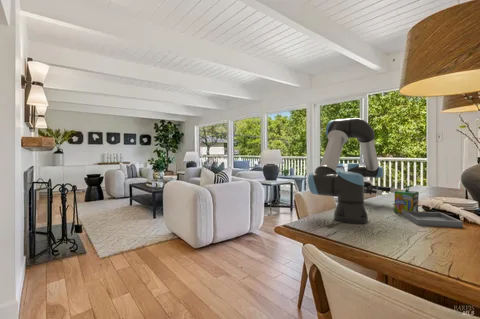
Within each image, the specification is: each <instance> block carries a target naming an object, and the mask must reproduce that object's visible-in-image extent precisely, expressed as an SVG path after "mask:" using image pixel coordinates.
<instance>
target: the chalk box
mask: <svg viewBox="0 0 480 319" xmlns="http://www.w3.org/2000/svg"><path fill="white" fill-rule="evenodd" d="M410 187H411V185H406V188H405V189H401V190H398V191H396V192H395V193H394V210H393V211H394V213H398V214H403V211H417V212H419V193H420V192H419V191H414V190H410Z"/></svg>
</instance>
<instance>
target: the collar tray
mask: <svg viewBox="0 0 480 319" xmlns="http://www.w3.org/2000/svg"><path fill="white" fill-rule="evenodd" d="M402 217H405V218H406V219H408V220H409V221H411V222H412V223H414V224H416V225H417V226H424V227H425V226H426V227H427V226H428V227H429V226H430V227H445V228H446V227H448V228H464V227H463V225H464V224H463V223H464V221H462V220H460V219H458V218H454V217H453V216H450V215H448V214H446V213H443V212H435V211H418V212H417V211H403V213H402Z"/></svg>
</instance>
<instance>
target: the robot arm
mask: <svg viewBox="0 0 480 319" xmlns="http://www.w3.org/2000/svg"><path fill="white" fill-rule="evenodd" d="M325 135H326V138H327V139H328V142H327V145H326V147H325V150H324V154H323V156H322V159H321V162H320V165H319V166H317V167H316V168H315V171H314V172H310V173H309V174H308V177H307V184H308V185H307V186H308V189H309V192H310V193H311V194H312V195H317V196H324V197H325V196H326V197H327V196H328V197H335V198H336V197H337V204H336V207H335V209H334V213H333V219H334V220H336V221H338V222H341V223H347V224H364V223H365V224H366V223H368V221H369V216H368V213H367V211H366V207H365V202H364V201H365V198H364V197H365V194H367V195H368V194H369V195H372V194H373V195H378V196H383V192H389V193H393V194H395V192H396V191H398V190H402V189H401V188H395V187H394V186H381V185H374V184H372V183H371V182H369V181H365V180H364V179H365V178H373V179H377V178H379V179H382V178H383V177H384V173H385V171H384V167H383V166H380V165H379V161H378V155H377V150H376V145H375V140H374V139H376V138H375V137H376V134H375V131H374V129H373V127H372V126H371V124H370V123H368V122H367V121H365V120H364V119H363V118H359V117H354V118H339V119H337V118H336V119H332V120H329V121H328V123H327V124H326V127H325ZM355 138H356V140H357V141H358V142H359V144H360V148H361V152H362V157H363V160H364V165H360V163H358V162H350V163H347V169H346V170H347V171H345V170H339V171H337V168H338V165H339V161H340V158H341V154H342V151H343V149H344V148H343V147H344V145H345V144H346V143H347V142H348V140H349V139H355Z"/></svg>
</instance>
